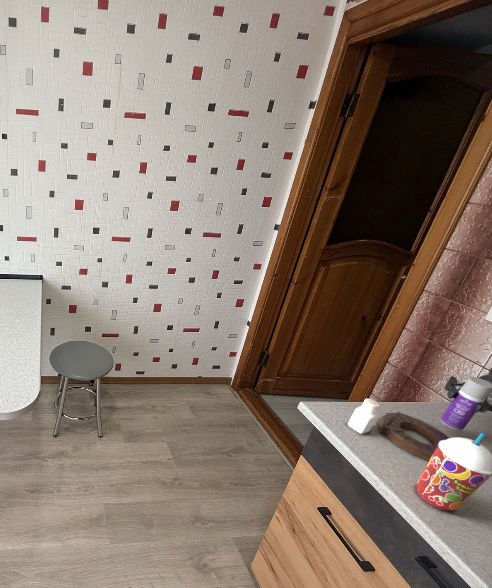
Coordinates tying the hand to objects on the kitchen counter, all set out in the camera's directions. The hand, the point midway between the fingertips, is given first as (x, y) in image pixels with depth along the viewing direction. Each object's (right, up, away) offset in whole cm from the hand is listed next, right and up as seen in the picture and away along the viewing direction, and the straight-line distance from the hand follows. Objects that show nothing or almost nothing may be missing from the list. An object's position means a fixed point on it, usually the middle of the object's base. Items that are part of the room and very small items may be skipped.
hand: (464, 402), depth 89 cm
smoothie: (-23, -18, -14) cm, 32 cm away
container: (+2, -8, +5) cm, 10 cm away
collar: (-11, -11, +3) cm, 16 cm away
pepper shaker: (-25, -9, +5) cm, 27 cm away
